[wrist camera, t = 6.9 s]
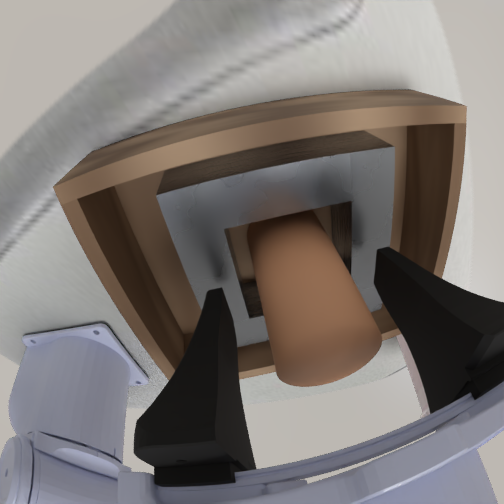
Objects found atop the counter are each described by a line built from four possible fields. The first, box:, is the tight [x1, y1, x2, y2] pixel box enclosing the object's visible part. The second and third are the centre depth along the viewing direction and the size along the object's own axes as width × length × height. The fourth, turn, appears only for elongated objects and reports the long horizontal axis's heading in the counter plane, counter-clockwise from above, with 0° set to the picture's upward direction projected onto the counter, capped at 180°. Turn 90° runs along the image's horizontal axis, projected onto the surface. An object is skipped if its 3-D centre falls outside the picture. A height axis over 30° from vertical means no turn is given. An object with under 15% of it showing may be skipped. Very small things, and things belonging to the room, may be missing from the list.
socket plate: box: [156, 131, 395, 347], centre depth 15 cm, size 10×10×3 cm
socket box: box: [53, 90, 467, 380], centre depth 15 cm, size 17×14×4 cm
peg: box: [247, 209, 382, 387], centre depth 13 cm, size 4×4×8 cm
